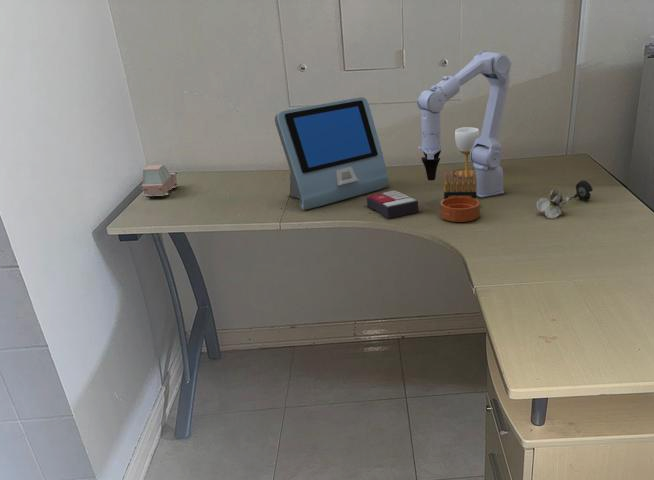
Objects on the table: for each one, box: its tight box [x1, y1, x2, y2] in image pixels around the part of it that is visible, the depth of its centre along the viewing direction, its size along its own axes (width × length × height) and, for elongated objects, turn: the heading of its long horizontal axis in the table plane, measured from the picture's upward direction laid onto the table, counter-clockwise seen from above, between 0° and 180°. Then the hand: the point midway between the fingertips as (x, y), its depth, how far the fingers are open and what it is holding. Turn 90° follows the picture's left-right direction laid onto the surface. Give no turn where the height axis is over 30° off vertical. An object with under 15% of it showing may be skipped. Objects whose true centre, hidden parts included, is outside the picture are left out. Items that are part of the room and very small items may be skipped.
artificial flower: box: [535, 180, 593, 219], centre depth 201 cm, size 9×22×10 cm, turn 129°
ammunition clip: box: [443, 169, 478, 200], centre depth 204 cm, size 11×2×12 cm, turn 87°
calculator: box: [366, 190, 419, 219], centre depth 205 cm, size 11×4×15 cm
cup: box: [454, 126, 480, 178], centre depth 234 cm, size 9×9×16 cm
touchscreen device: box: [274, 97, 389, 211], centre depth 214 cm, size 35×20×30 cm, turn 131°
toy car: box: [141, 164, 178, 197], centre depth 226 cm, size 9×15×10 cm, turn 1°
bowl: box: [439, 196, 481, 223], centre depth 197 cm, size 12×12×4 cm
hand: (431, 176), depth 202 cm, fingers open, 7 cm apart
